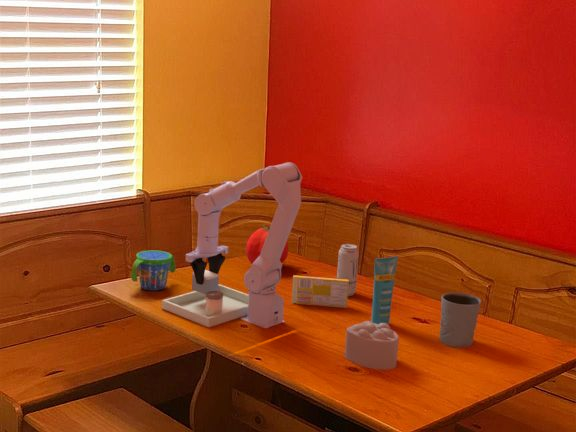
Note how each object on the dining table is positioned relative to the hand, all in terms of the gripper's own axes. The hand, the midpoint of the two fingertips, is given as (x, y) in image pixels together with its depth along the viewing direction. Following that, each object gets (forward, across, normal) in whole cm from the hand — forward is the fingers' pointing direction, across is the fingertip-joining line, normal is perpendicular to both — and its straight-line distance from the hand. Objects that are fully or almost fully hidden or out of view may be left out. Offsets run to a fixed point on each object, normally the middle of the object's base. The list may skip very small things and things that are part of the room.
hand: (206, 281), depth 235 cm
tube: (+7, -27, +42) cm, 50 cm away
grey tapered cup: (+7, -32, +62) cm, 71 cm away
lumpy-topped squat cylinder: (+7, -5, +54) cm, 55 cm away
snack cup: (+7, +1, -22) cm, 23 cm away
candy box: (+7, -26, +20) cm, 34 cm away
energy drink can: (+7, -40, +20) cm, 45 cm away
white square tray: (+7, +1, +4) cm, 8 cm away
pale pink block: (+3, 0, 0) cm, 3 cm away
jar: (+6, +6, +10) cm, 13 cm away
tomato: (+7, -40, -14) cm, 43 cm away
